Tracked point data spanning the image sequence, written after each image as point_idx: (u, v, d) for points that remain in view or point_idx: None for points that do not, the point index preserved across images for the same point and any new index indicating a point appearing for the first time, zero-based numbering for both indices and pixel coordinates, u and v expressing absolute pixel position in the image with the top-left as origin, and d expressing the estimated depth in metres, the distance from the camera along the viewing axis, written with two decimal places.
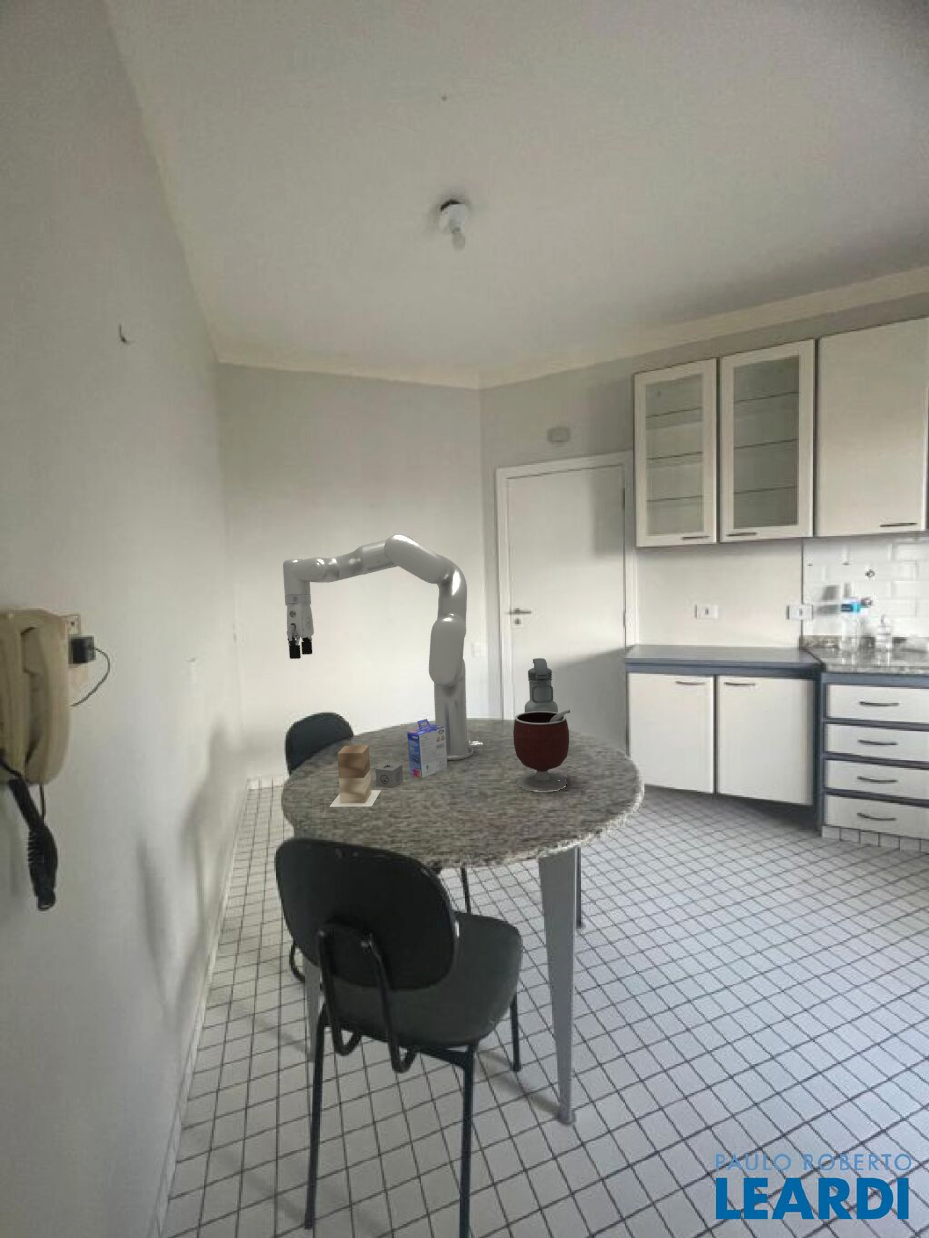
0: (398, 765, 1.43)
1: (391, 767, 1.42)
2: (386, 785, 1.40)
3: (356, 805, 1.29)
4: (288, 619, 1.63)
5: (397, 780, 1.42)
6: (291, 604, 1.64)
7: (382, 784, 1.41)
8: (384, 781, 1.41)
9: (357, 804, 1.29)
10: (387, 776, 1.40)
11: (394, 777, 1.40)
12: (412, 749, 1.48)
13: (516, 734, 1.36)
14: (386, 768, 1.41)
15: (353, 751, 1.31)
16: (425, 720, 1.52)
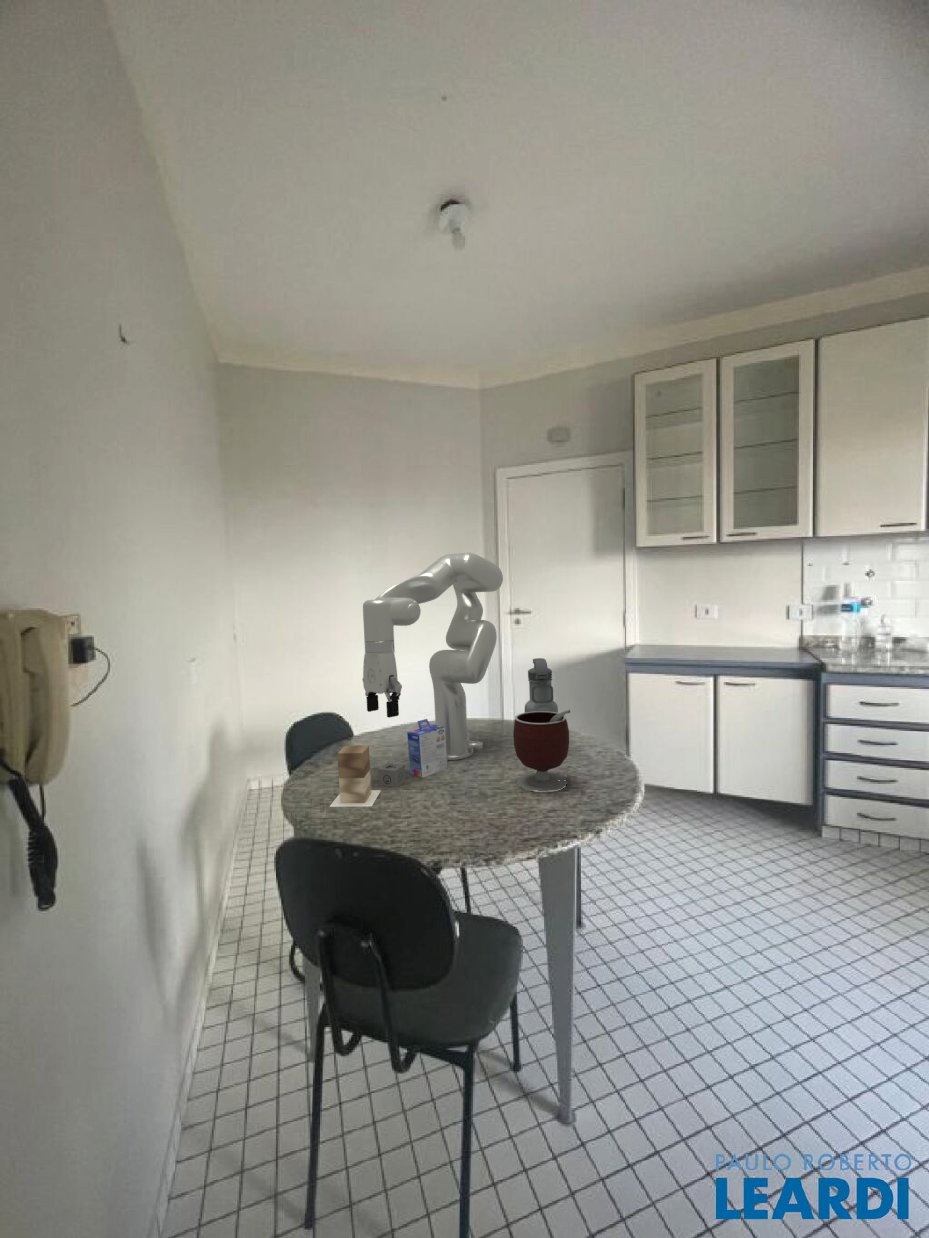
0: (400, 765, 1.43)
1: (394, 767, 1.41)
2: (389, 785, 1.40)
3: (356, 805, 1.29)
4: None
5: (400, 780, 1.41)
6: None
7: (384, 784, 1.41)
8: (387, 781, 1.40)
9: (357, 804, 1.29)
10: (390, 776, 1.40)
11: (397, 777, 1.40)
12: (412, 749, 1.48)
13: (516, 734, 1.36)
14: (389, 768, 1.41)
15: (353, 751, 1.31)
16: (425, 720, 1.52)
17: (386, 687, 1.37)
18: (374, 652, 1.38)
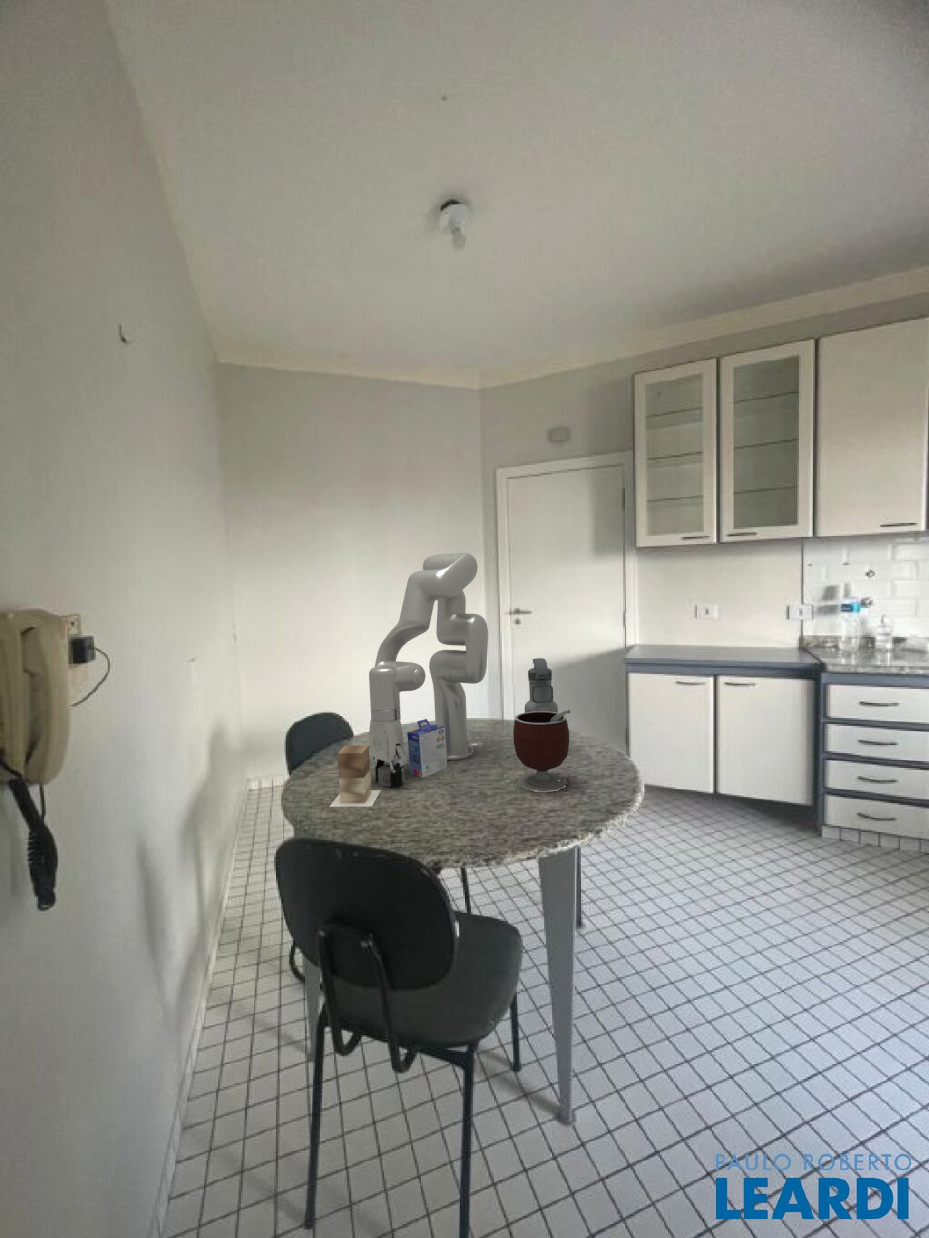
0: None
1: None
2: (388, 785, 1.40)
3: (356, 805, 1.29)
4: None
5: None
6: None
7: (384, 784, 1.41)
8: (386, 781, 1.41)
9: (357, 804, 1.29)
10: (389, 776, 1.40)
11: None
12: (411, 749, 1.48)
13: (516, 734, 1.36)
14: (388, 768, 1.41)
15: (353, 751, 1.31)
16: (425, 720, 1.52)
17: (393, 756, 1.37)
18: (381, 721, 1.38)
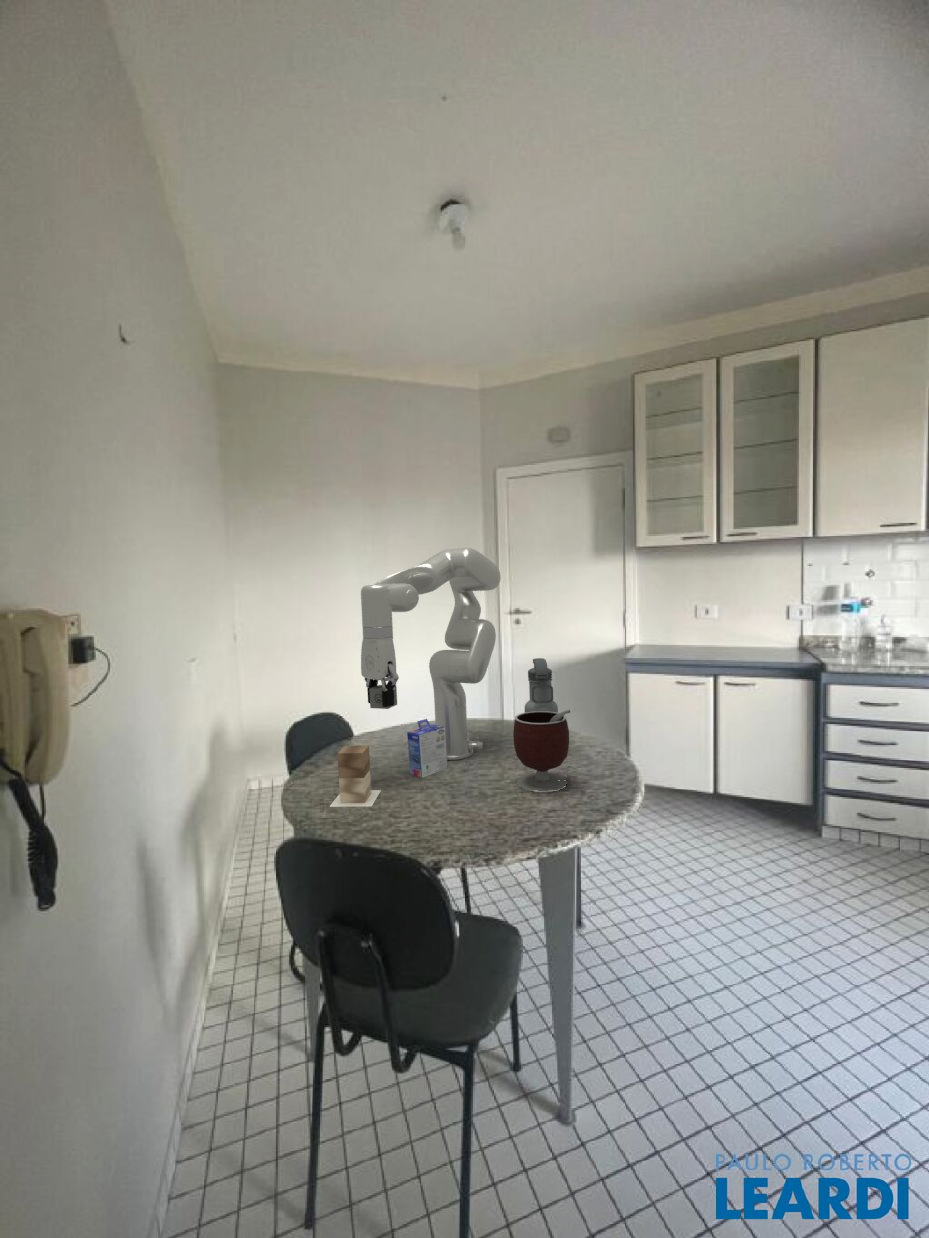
0: None
1: None
2: (380, 704, 1.38)
3: (356, 805, 1.29)
4: None
5: None
6: None
7: (376, 704, 1.38)
8: (378, 700, 1.38)
9: (357, 804, 1.29)
10: (381, 695, 1.38)
11: None
12: (411, 749, 1.48)
13: (516, 734, 1.36)
14: (380, 688, 1.39)
15: (353, 751, 1.31)
16: (425, 720, 1.52)
17: (384, 673, 1.35)
18: (373, 638, 1.36)
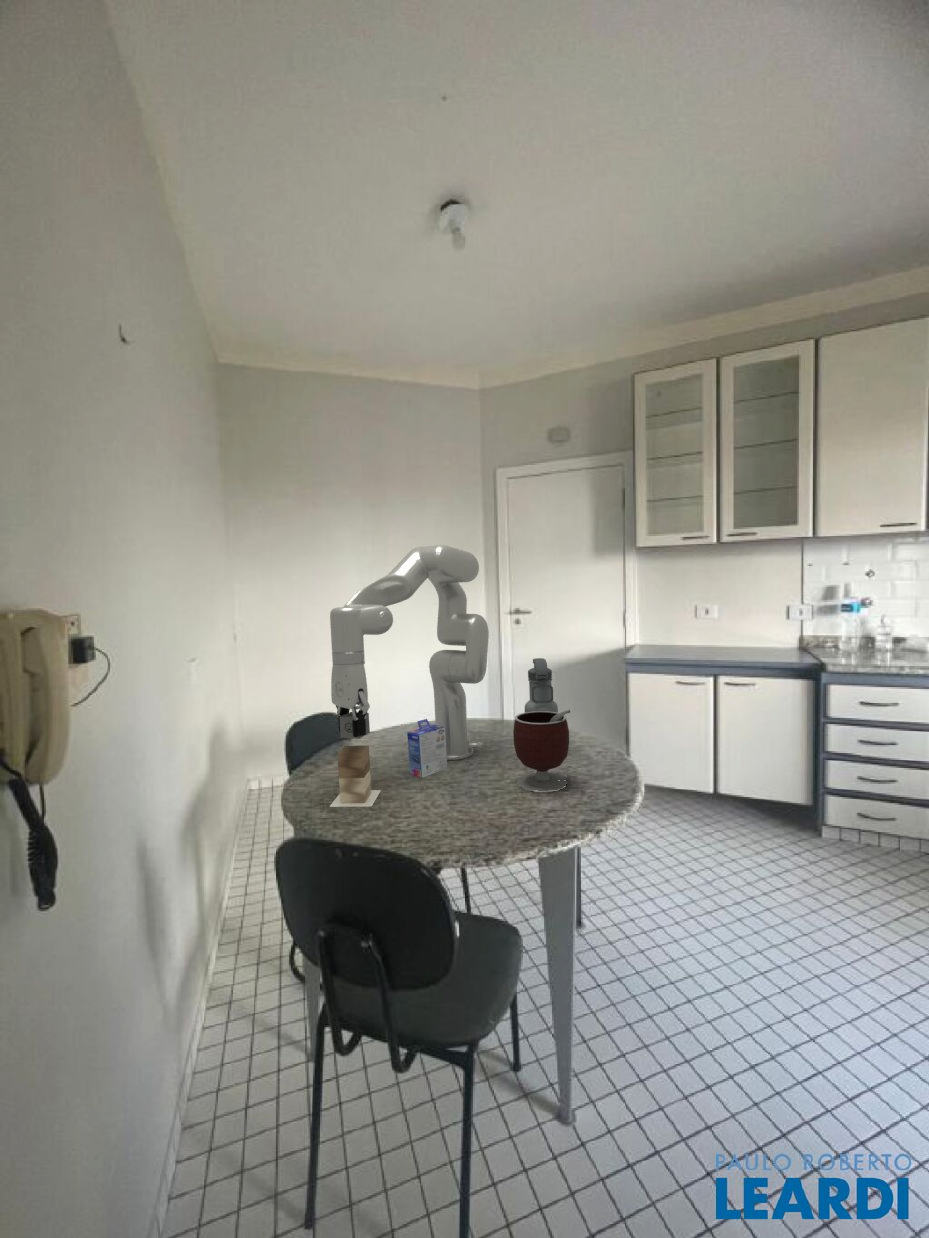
0: None
1: None
2: (351, 734, 1.30)
3: (356, 805, 1.29)
4: None
5: None
6: None
7: (346, 733, 1.30)
8: (349, 730, 1.30)
9: (357, 804, 1.29)
10: None
11: None
12: (411, 749, 1.48)
13: (516, 734, 1.36)
14: (351, 716, 1.31)
15: (353, 751, 1.31)
16: (425, 720, 1.52)
17: (355, 702, 1.27)
18: (342, 664, 1.28)
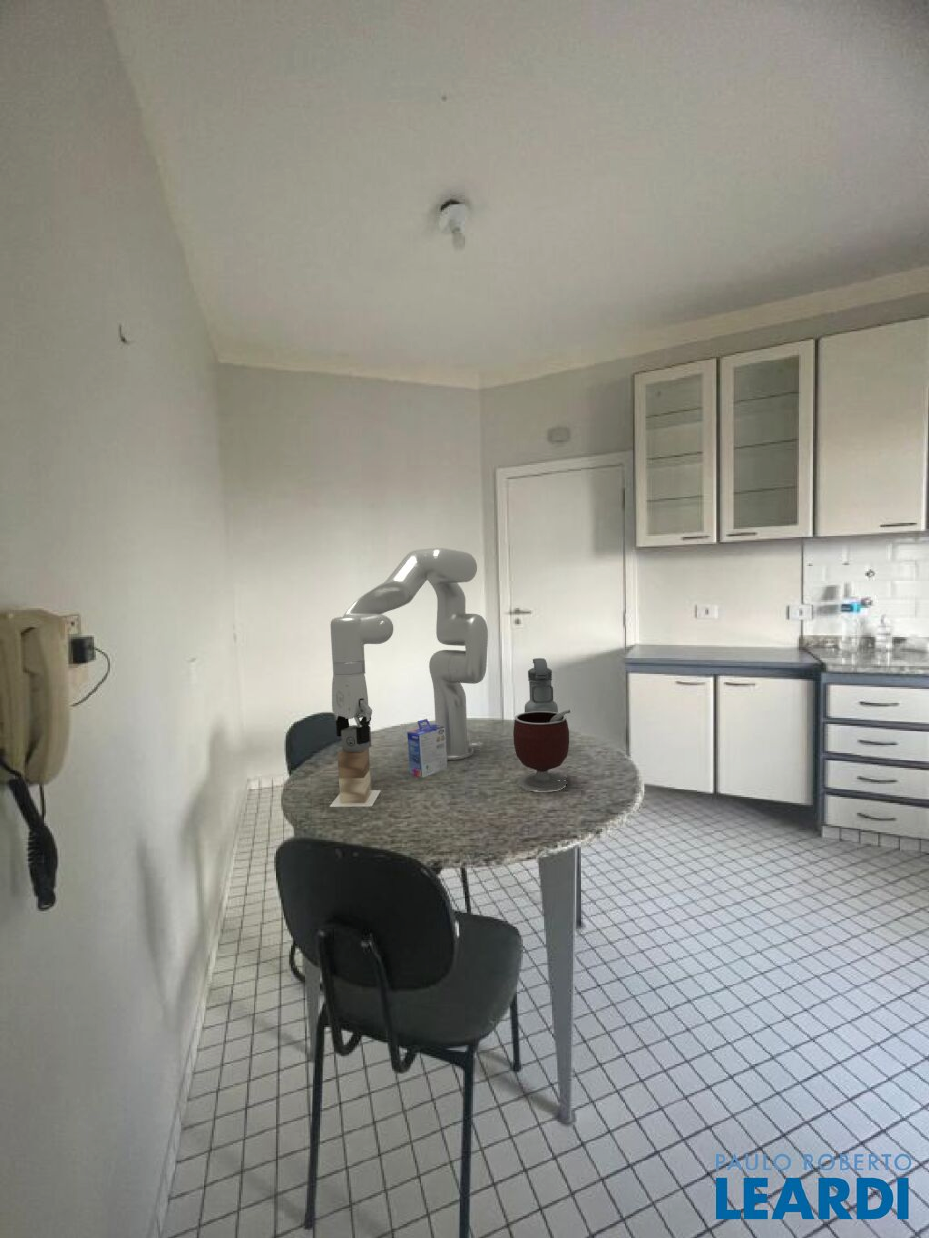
0: None
1: None
2: (352, 748, 1.31)
3: (356, 805, 1.29)
4: None
5: (364, 743, 1.32)
6: None
7: (348, 747, 1.31)
8: (350, 743, 1.31)
9: (357, 804, 1.29)
10: (353, 738, 1.30)
11: None
12: (412, 749, 1.48)
13: (516, 734, 1.36)
14: (352, 730, 1.31)
15: None
16: (425, 720, 1.52)
17: (355, 712, 1.27)
18: (343, 674, 1.28)
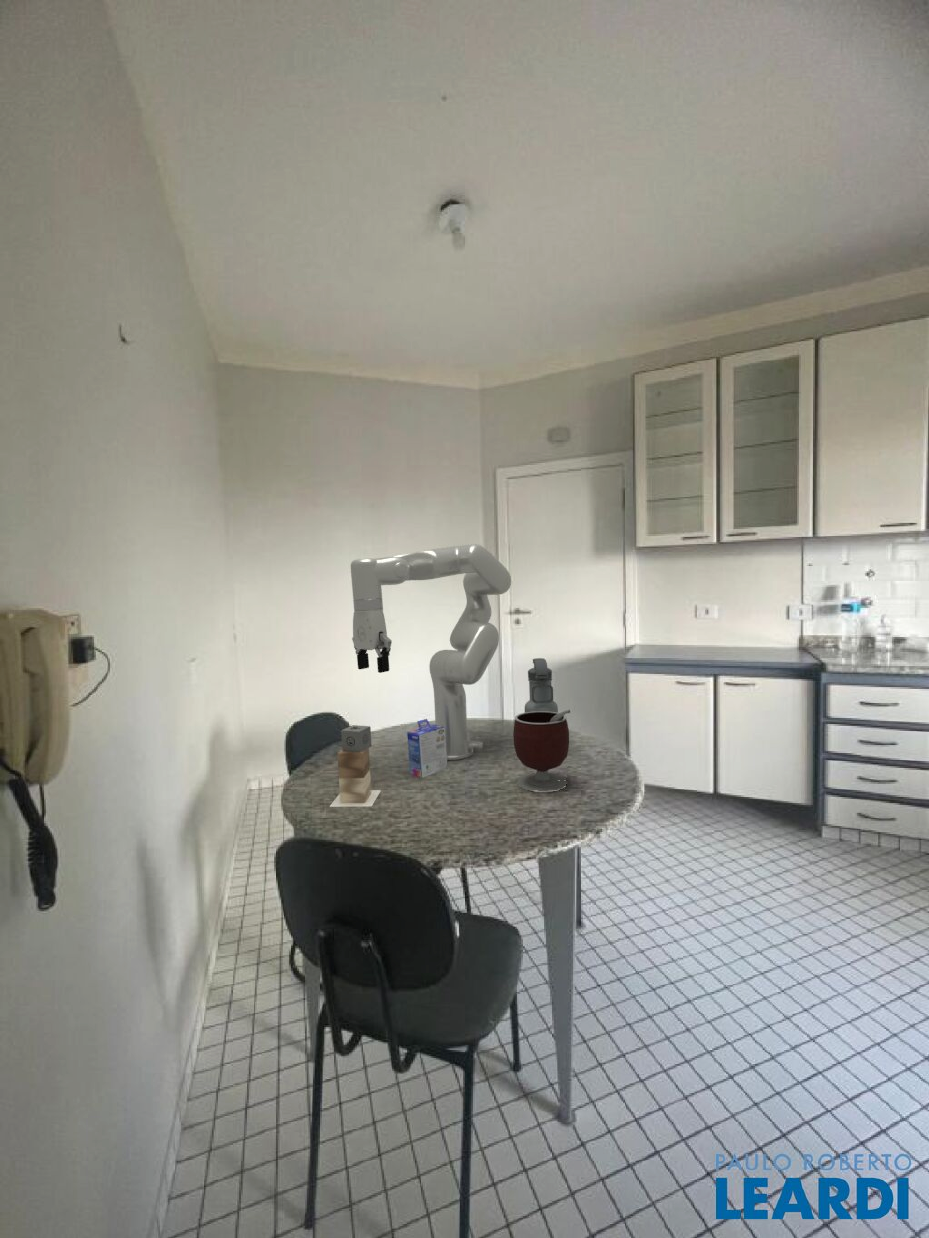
0: (366, 727, 1.33)
1: (358, 729, 1.32)
2: (352, 748, 1.31)
3: (356, 805, 1.29)
4: None
5: (364, 742, 1.32)
6: None
7: (348, 747, 1.31)
8: (350, 743, 1.31)
9: (357, 804, 1.29)
10: (353, 738, 1.30)
11: (361, 739, 1.30)
12: (411, 749, 1.48)
13: (516, 734, 1.36)
14: (352, 730, 1.31)
15: None
16: (425, 720, 1.52)
17: (376, 643, 1.41)
18: (364, 610, 1.42)
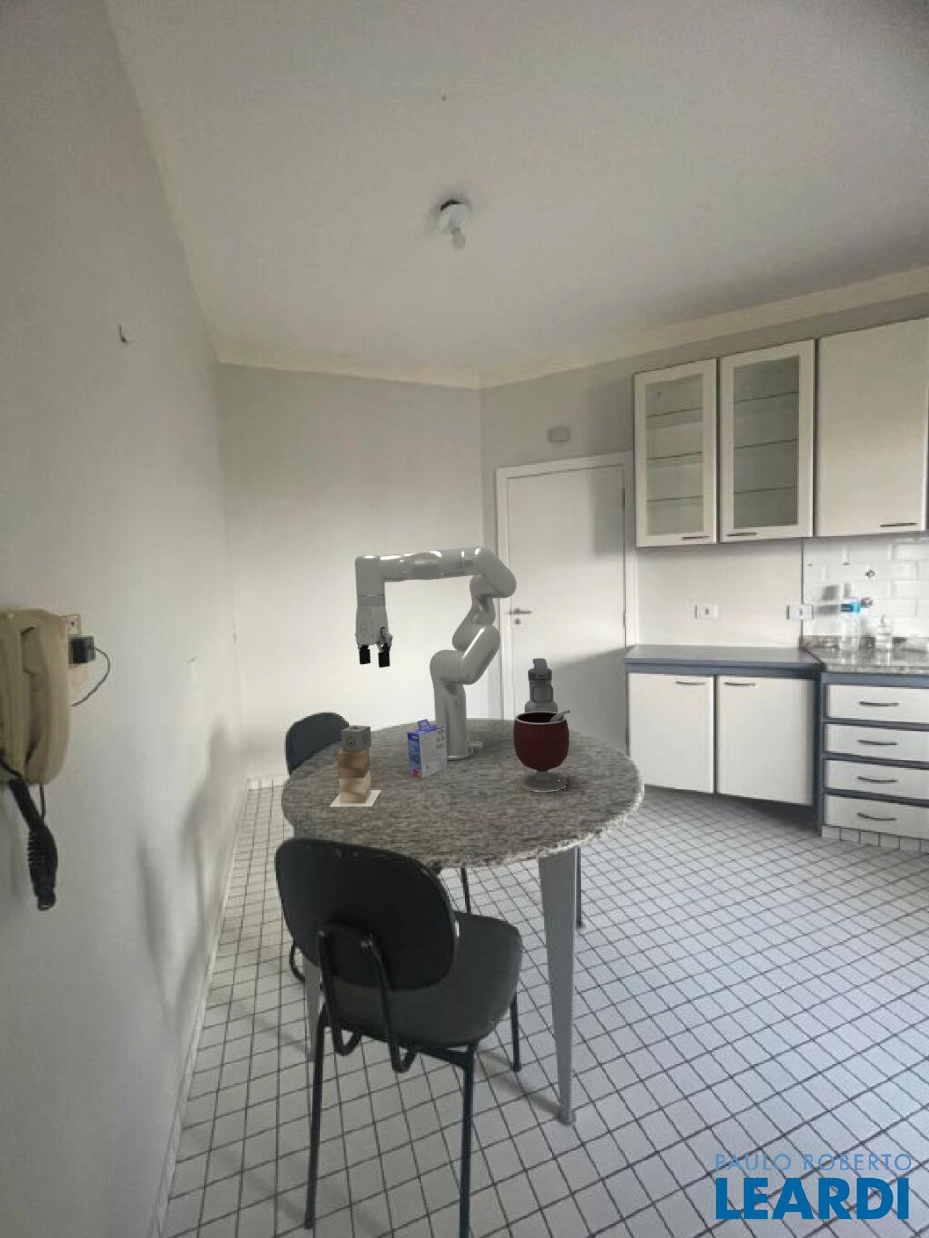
0: (366, 727, 1.33)
1: (358, 729, 1.32)
2: (352, 748, 1.31)
3: (356, 805, 1.29)
4: None
5: (364, 742, 1.32)
6: None
7: (348, 747, 1.31)
8: (350, 743, 1.31)
9: (357, 804, 1.29)
10: (353, 738, 1.30)
11: (361, 739, 1.30)
12: (412, 749, 1.48)
13: (516, 734, 1.36)
14: (352, 730, 1.31)
15: None
16: (425, 720, 1.52)
17: (378, 638, 1.43)
18: (366, 605, 1.44)
